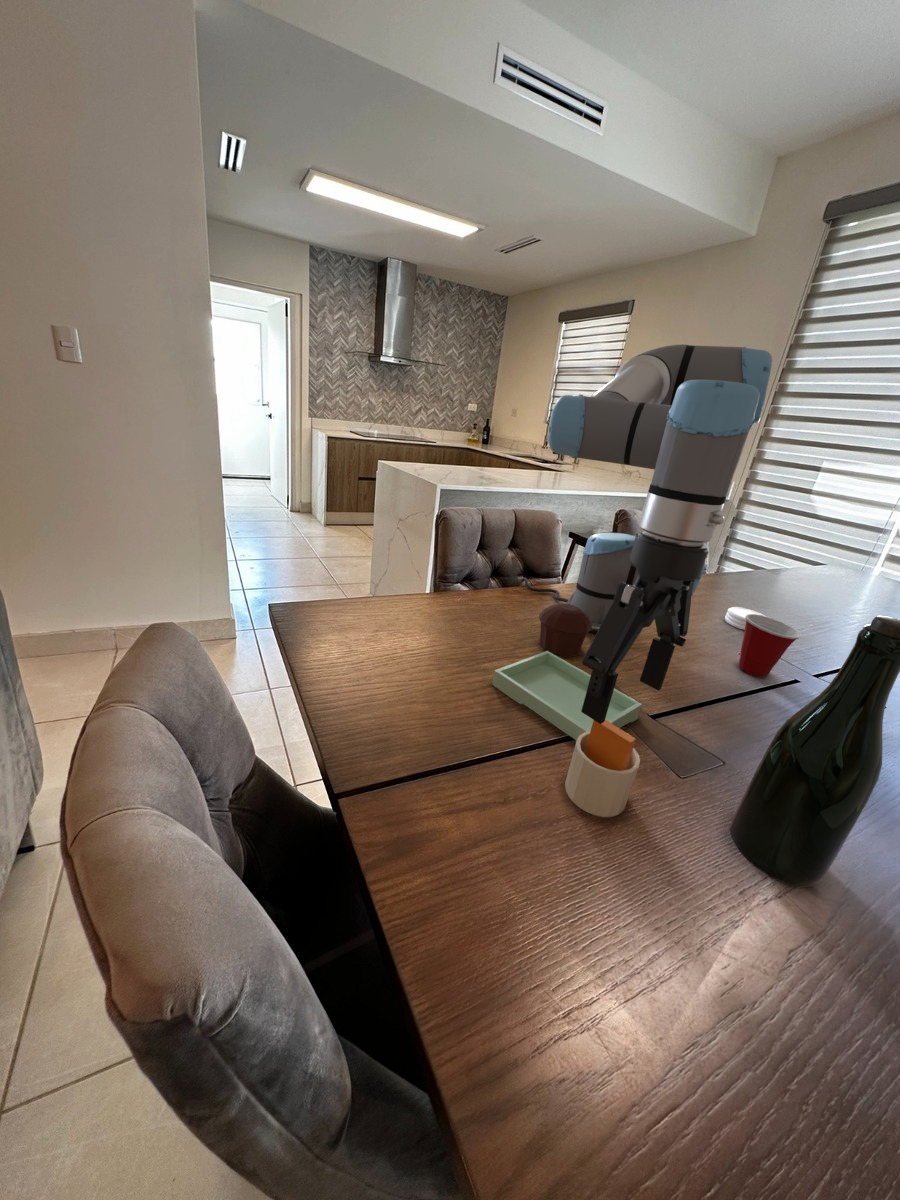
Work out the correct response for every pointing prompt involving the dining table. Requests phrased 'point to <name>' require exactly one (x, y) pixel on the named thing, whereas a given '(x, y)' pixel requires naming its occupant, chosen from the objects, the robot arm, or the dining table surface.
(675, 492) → the robot arm
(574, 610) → the muffin
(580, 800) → the sugar cup
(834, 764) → the beer bottle
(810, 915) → the dining table surface
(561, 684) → the tray
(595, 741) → the plate
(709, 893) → the dining table surface
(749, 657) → the plastic cup
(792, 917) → the dining table surface
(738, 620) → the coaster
